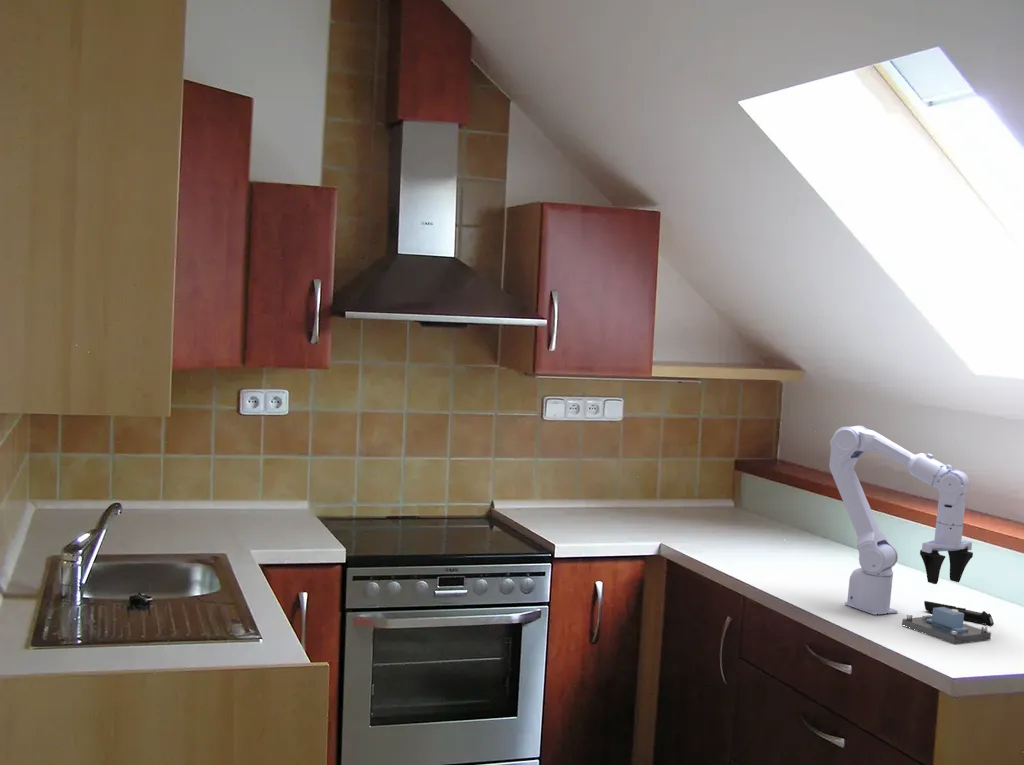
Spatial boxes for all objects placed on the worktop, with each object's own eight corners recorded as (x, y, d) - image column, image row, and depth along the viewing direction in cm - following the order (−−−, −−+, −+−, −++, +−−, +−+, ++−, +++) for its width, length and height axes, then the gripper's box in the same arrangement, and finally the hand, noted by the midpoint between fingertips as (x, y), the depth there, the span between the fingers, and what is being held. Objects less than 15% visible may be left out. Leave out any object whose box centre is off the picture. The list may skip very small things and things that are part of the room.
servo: (925, 627, 251) (927, 603, 251) (935, 626, 253) (938, 602, 252) (957, 638, 244) (959, 613, 243) (967, 637, 245) (970, 612, 245)
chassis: (901, 625, 251) (903, 614, 251) (937, 621, 257) (938, 610, 257) (953, 644, 239) (955, 632, 239) (990, 639, 245) (991, 628, 245)
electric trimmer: (925, 611, 268) (926, 598, 268) (994, 624, 260) (995, 611, 259) (921, 614, 265) (922, 601, 265) (990, 628, 257) (992, 614, 256)
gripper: (942, 528, 246) (936, 588, 247) (985, 526, 253) (979, 584, 254) (916, 521, 252) (910, 580, 253) (959, 519, 259) (953, 577, 260)
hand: (943, 582), depth 254 cm, fingers open, 7 cm apart
